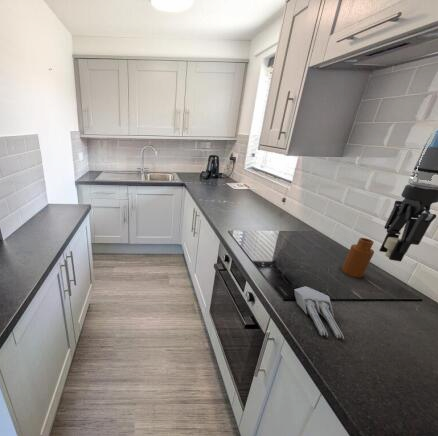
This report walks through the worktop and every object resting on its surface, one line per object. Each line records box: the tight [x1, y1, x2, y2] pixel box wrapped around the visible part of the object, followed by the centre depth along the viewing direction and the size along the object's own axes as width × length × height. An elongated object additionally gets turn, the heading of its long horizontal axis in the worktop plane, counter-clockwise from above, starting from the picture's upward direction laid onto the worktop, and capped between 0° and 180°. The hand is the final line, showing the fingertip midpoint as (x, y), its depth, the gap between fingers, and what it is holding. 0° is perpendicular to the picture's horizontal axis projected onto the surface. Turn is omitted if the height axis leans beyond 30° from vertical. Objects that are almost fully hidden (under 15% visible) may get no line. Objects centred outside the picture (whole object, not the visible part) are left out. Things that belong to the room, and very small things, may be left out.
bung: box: [384, 237, 401, 258], centre depth 74 cm, size 5×5×6 cm
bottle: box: [341, 237, 375, 278], centre depth 98 cm, size 7×7×16 cm
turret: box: [293, 285, 345, 340], centre depth 77 cm, size 10×20×5 cm, turn 170°
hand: (389, 255), depth 75 cm, fingers closed on bung, 5 cm apart
